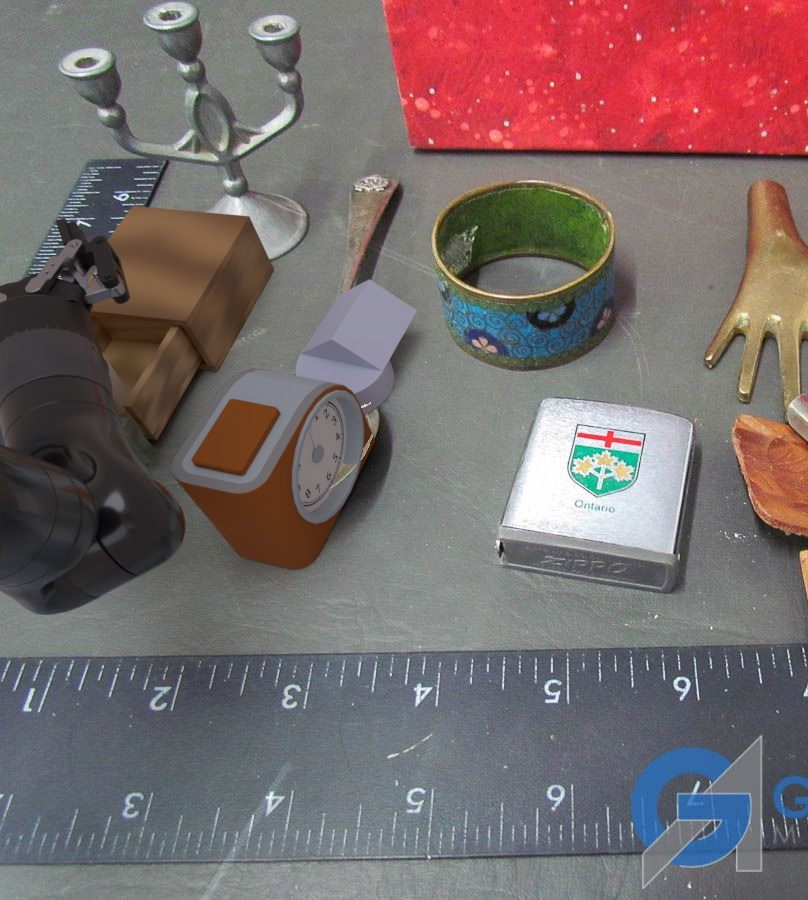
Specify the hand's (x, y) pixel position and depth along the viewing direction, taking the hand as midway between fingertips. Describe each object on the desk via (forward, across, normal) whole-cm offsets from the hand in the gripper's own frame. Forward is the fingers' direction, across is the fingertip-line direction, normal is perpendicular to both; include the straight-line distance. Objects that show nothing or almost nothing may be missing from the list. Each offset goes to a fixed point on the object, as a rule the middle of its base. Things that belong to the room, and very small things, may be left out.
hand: (12, 245), depth 69 cm
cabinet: (+8, -9, +19) cm, 23 cm away
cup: (-3, +2, +18) cm, 18 cm away
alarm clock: (-22, -12, +20) cm, 32 cm away
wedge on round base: (-10, -22, +20) cm, 31 cm away
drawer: (-2, 0, +19) cm, 19 cm away
